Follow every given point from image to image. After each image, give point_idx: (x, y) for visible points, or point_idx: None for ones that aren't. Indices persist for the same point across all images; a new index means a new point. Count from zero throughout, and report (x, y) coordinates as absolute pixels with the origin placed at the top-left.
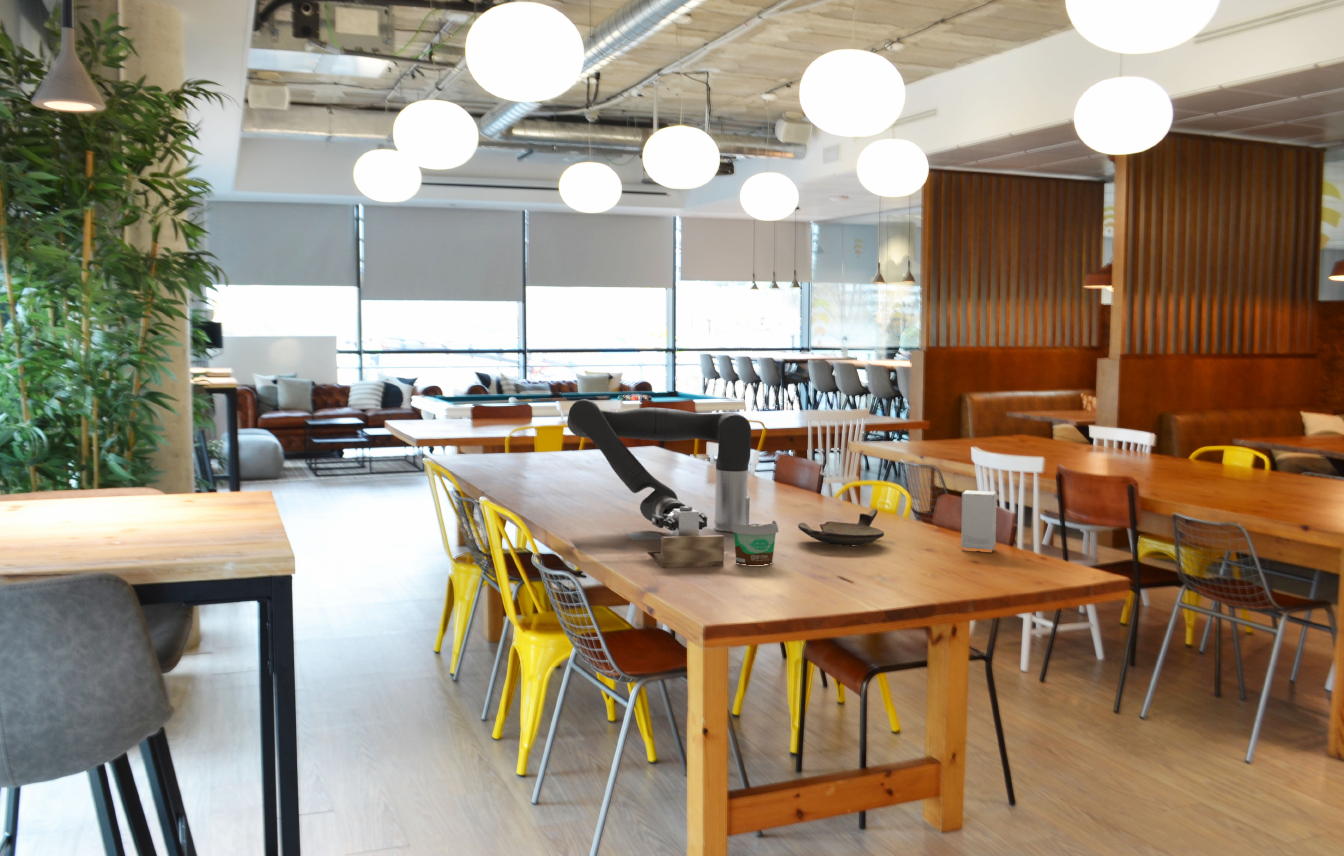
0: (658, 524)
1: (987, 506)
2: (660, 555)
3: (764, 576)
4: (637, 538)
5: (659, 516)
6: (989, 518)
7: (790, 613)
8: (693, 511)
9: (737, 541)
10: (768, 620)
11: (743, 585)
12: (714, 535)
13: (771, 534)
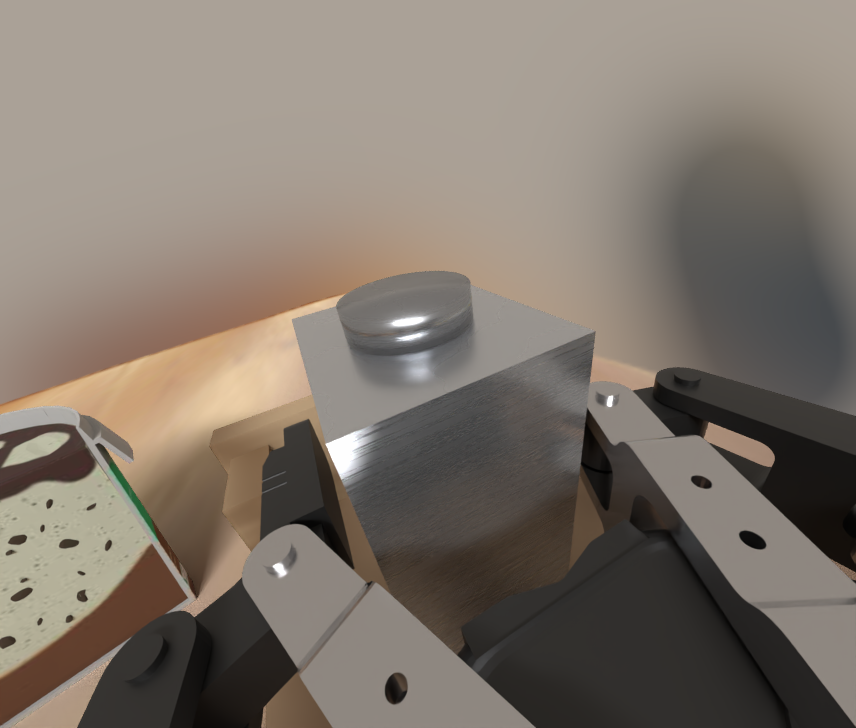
0: (752, 476)
1: None
2: (581, 506)
3: (193, 448)
4: None
5: (795, 422)
6: None
7: (263, 323)
8: (337, 312)
9: (137, 498)
10: (298, 307)
11: (284, 377)
12: (262, 424)
13: None
